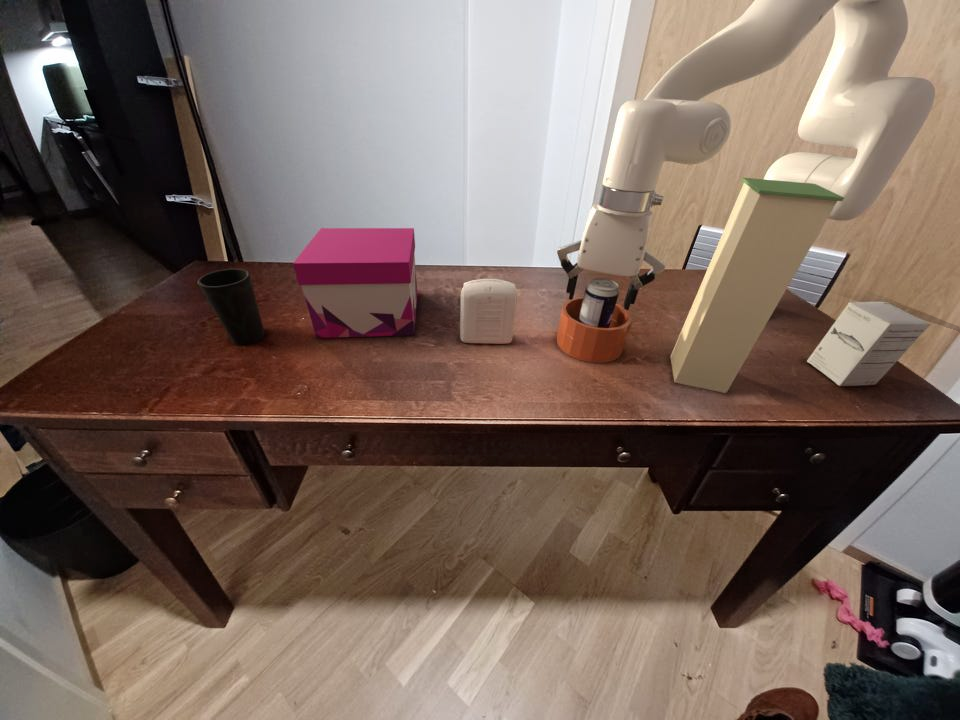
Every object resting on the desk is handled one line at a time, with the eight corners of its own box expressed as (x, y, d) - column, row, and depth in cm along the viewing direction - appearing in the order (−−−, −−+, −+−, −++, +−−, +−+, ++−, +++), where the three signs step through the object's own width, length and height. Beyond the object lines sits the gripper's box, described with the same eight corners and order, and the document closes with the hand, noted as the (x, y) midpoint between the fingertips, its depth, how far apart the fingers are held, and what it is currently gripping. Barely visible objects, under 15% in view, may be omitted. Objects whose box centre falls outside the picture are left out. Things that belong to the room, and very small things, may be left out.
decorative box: (415, 336, 71) (408, 262, 62) (314, 339, 69) (292, 263, 60) (418, 292, 86) (413, 228, 77) (335, 294, 84) (321, 228, 75)
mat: (813, 186, 49) (815, 183, 48) (842, 201, 42) (844, 197, 42) (741, 180, 51) (742, 177, 50) (758, 193, 44) (759, 190, 44)
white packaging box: (804, 361, 68) (846, 300, 61) (840, 360, 69) (886, 300, 61) (838, 387, 62) (890, 323, 55) (877, 386, 63) (934, 323, 55)
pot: (600, 324, 77) (608, 293, 73) (635, 357, 68) (646, 325, 63) (546, 330, 74) (551, 300, 70) (575, 367, 65) (582, 333, 61)
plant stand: (717, 365, 66) (811, 187, 48) (726, 393, 60) (838, 200, 42) (670, 356, 68) (744, 181, 50) (674, 382, 62) (760, 193, 44)
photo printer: (511, 333, 73) (517, 275, 66) (513, 345, 70) (520, 285, 62) (460, 333, 73) (460, 274, 65) (460, 345, 69) (459, 284, 62)
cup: (279, 330, 71) (259, 272, 64) (248, 351, 65) (221, 290, 58) (248, 323, 73) (225, 265, 66) (215, 342, 67) (185, 282, 60)
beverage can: (605, 351, 68) (622, 292, 61) (574, 347, 69) (587, 288, 62) (603, 335, 72) (619, 278, 65) (574, 331, 73) (586, 275, 66)
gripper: (683, 201, 56) (648, 301, 66) (570, 189, 60) (553, 285, 70) (689, 213, 50) (650, 320, 60) (564, 198, 54) (546, 301, 64)
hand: (598, 301), depth 65 cm, fingers open, 9 cm apart
